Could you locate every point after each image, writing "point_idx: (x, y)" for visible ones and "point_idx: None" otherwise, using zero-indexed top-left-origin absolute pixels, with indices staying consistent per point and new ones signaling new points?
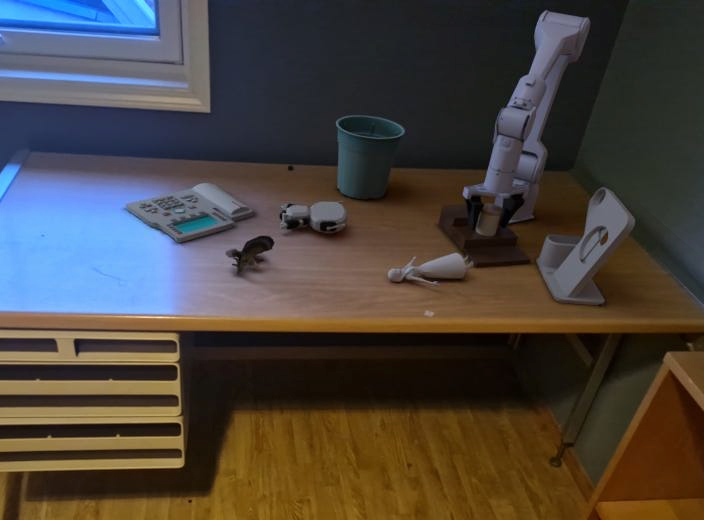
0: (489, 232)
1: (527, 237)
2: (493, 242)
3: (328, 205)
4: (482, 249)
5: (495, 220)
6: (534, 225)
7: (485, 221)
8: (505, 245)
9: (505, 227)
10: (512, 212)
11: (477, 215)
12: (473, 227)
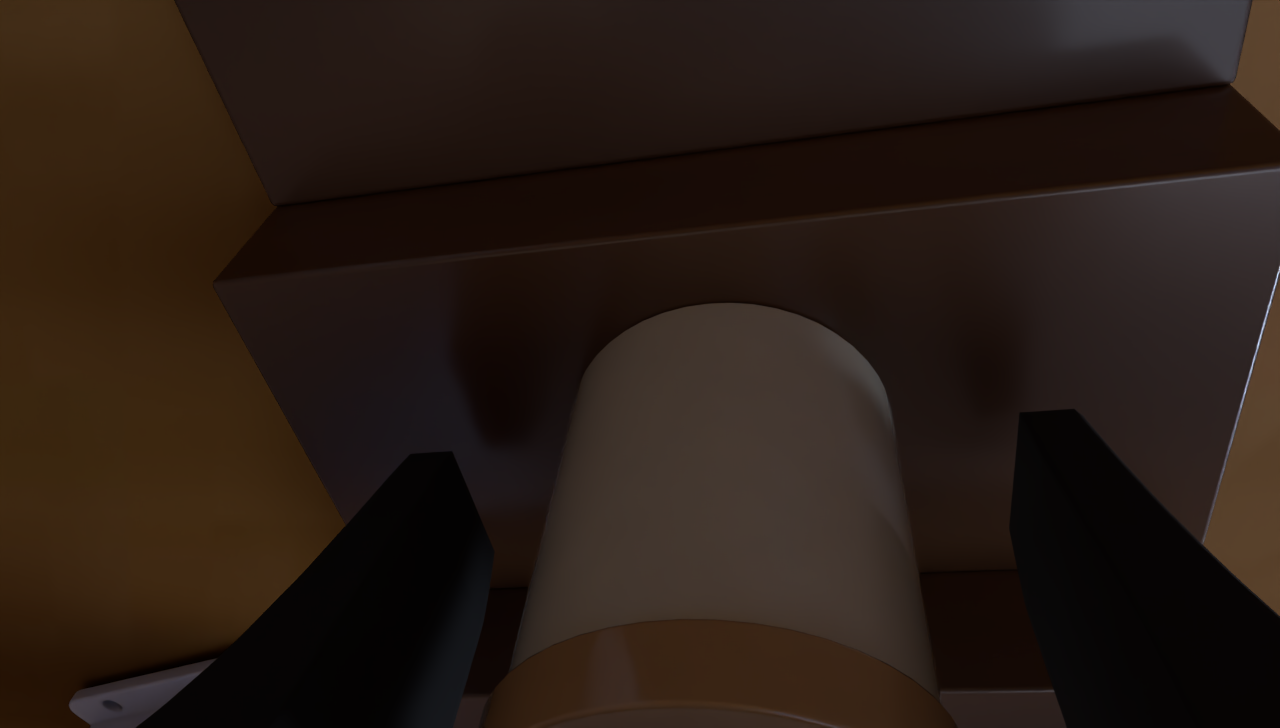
0: (737, 344)
1: (129, 431)
2: (655, 193)
3: None
4: (882, 53)
5: (663, 531)
6: (66, 608)
7: (868, 533)
8: (440, 187)
9: (407, 461)
10: (237, 704)
11: (1215, 659)
12: (1082, 438)
